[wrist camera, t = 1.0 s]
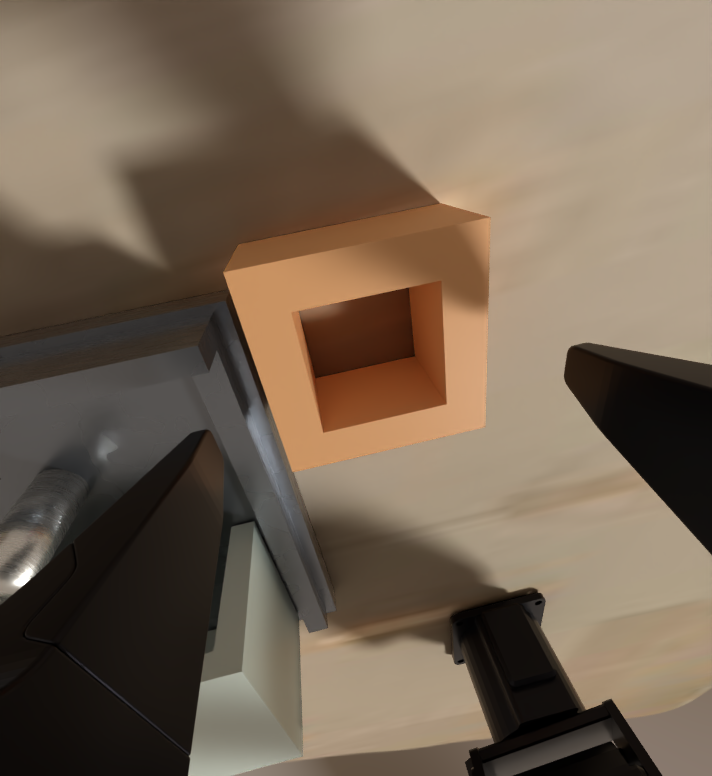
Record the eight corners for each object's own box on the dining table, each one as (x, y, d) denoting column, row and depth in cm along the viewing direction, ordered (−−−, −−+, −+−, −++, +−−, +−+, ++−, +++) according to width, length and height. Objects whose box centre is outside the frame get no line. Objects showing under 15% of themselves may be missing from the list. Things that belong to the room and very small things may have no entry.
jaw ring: (447, 376, 16) (485, 427, 13) (291, 412, 15) (292, 472, 13) (440, 203, 12) (490, 217, 9) (238, 244, 12) (223, 272, 9)
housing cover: (299, 616, 21) (303, 756, 16) (75, 673, 20) (8, 837, 15) (254, 521, 16) (241, 671, 12) (-32, 590, 16) (-170, 778, 11)
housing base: (334, 590, 22) (346, 696, 18) (54, 660, 21) (-6, 790, 17) (229, 289, 13) (200, 358, 8) (-283, 396, 12) (-619, 536, 7)
